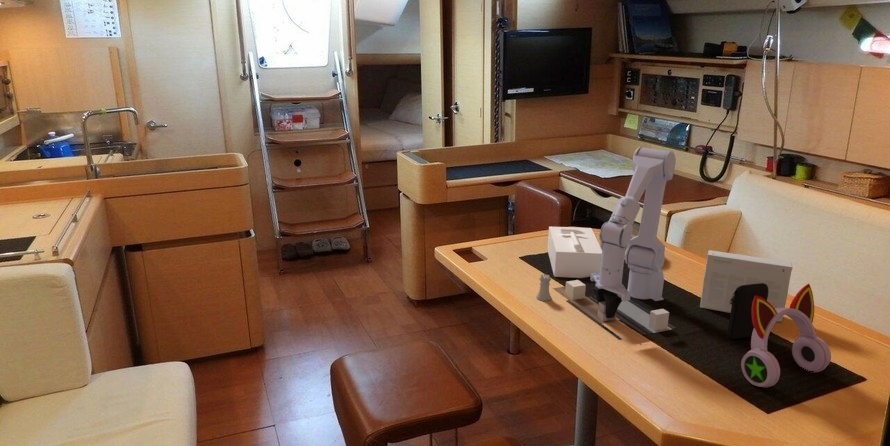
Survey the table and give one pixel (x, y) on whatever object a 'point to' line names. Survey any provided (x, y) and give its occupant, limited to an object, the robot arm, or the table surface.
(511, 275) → the table surface
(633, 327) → the lane rails
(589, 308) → the strip
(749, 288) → the carrying case or bag
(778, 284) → the skincare box
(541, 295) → the rook chess piece
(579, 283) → the cube
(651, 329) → the strip
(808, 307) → the headphones
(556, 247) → the white rectangular block
